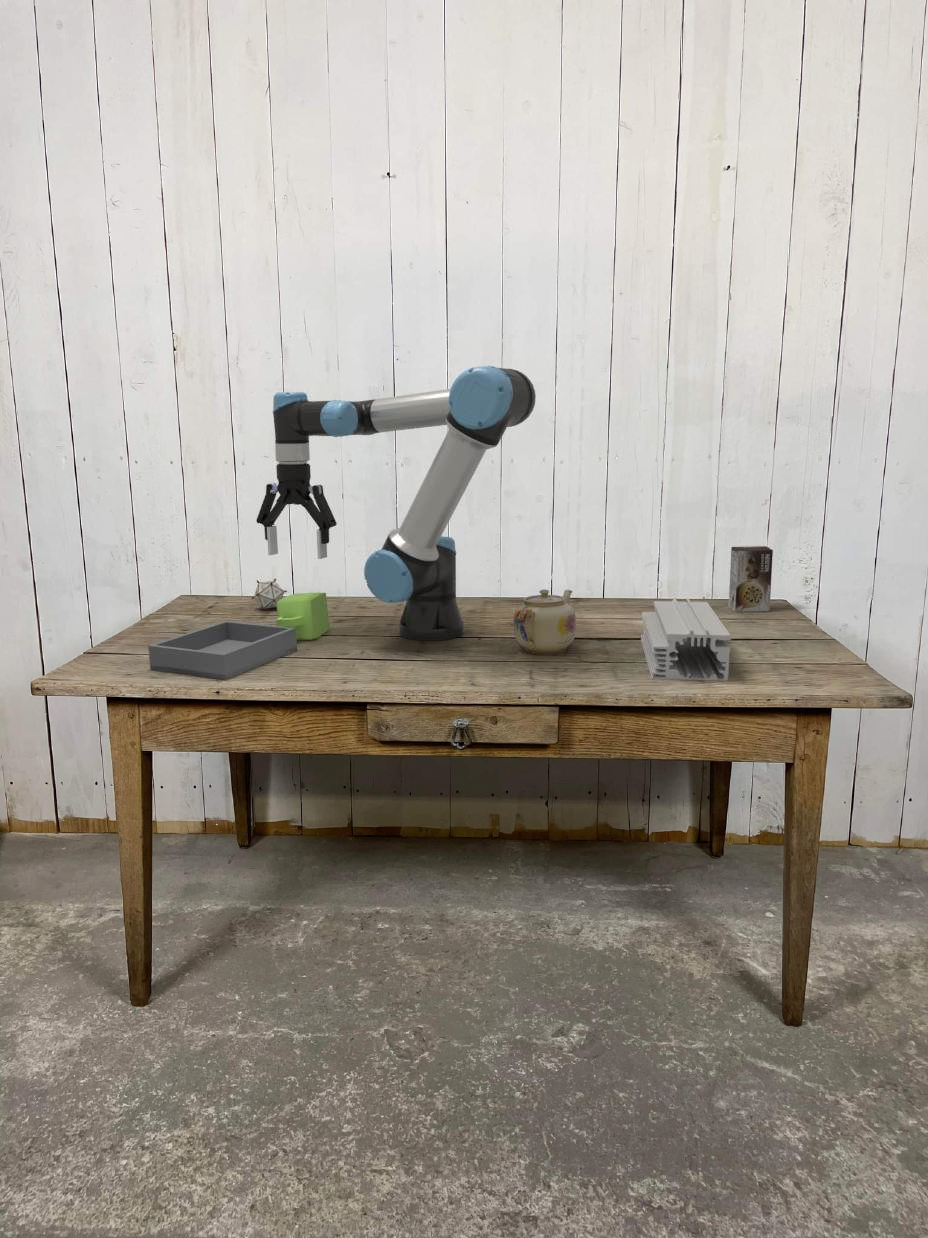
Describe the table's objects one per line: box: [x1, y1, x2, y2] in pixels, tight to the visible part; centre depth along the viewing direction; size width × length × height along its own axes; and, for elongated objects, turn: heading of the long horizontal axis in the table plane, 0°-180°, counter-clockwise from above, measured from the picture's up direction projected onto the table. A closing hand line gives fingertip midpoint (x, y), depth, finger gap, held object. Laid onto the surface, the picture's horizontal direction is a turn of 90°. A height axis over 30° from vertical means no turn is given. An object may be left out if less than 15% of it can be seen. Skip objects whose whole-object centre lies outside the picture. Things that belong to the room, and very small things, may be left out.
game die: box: [250, 577, 288, 612], centre depth 233 cm, size 9×8×10 cm
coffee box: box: [728, 545, 774, 613], centre depth 226 cm, size 9×6×16 cm
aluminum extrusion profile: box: [640, 597, 732, 682], centre depth 182 cm, size 14×31×10 cm, turn 173°
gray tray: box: [147, 620, 298, 681], centre depth 184 cm, size 19×24×5 cm
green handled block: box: [275, 592, 330, 641], centre depth 205 cm, size 18×10×10 cm, turn 170°
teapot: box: [513, 589, 577, 656], centre depth 190 cm, size 20×14×13 cm
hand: (297, 556), depth 202 cm, fingers open, 13 cm apart
